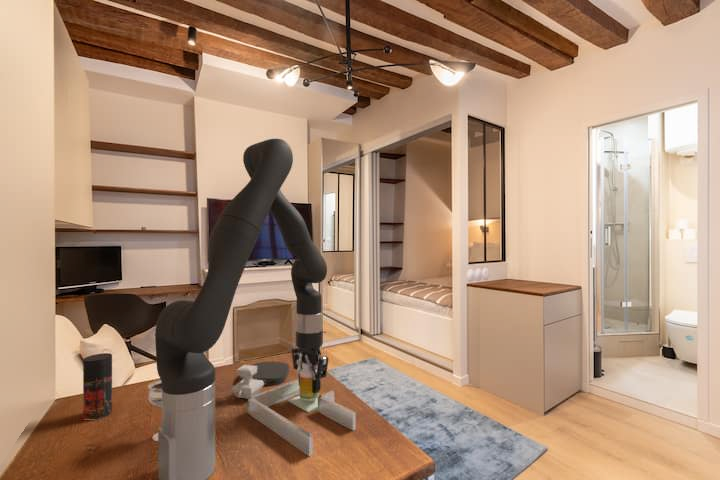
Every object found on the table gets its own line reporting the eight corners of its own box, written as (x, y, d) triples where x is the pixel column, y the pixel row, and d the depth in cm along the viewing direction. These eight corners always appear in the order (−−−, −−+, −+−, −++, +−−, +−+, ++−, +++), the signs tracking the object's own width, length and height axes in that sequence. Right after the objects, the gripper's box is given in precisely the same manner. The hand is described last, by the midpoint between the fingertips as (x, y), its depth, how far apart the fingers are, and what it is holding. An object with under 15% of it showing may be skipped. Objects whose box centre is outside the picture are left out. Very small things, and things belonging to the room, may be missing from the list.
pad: (308, 412, 88) (308, 411, 88) (288, 401, 94) (288, 400, 94) (328, 403, 93) (328, 401, 93) (308, 393, 99) (308, 391, 99)
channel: (309, 456, 70) (309, 437, 70) (247, 413, 88) (247, 397, 88) (366, 422, 83) (366, 406, 83) (303, 390, 101) (303, 377, 101)
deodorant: (78, 417, 86) (78, 358, 86) (104, 407, 91) (104, 352, 91) (90, 422, 83) (90, 362, 83) (116, 412, 88) (116, 355, 89)
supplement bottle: (315, 402, 90) (315, 366, 91) (296, 400, 92) (296, 364, 92) (321, 393, 96) (321, 359, 96) (303, 391, 97) (303, 358, 97)
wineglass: (151, 429, 80) (151, 379, 80) (183, 424, 82) (183, 375, 82) (144, 446, 74) (144, 391, 74) (179, 439, 76) (179, 386, 76)
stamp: (249, 404, 92) (249, 374, 92) (228, 401, 94) (228, 371, 94) (266, 390, 101) (266, 362, 101) (247, 388, 103) (247, 360, 103)
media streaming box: (290, 368, 119) (290, 360, 119) (283, 386, 105) (283, 376, 105) (248, 369, 118) (248, 361, 118) (236, 387, 104) (236, 378, 104)
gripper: (283, 326, 96) (283, 385, 96) (314, 336, 86) (315, 402, 86) (304, 322, 101) (304, 377, 101) (336, 330, 92) (336, 392, 91)
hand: (309, 388), depth 94 cm, fingers closed on supplement bottle, 5 cm apart
